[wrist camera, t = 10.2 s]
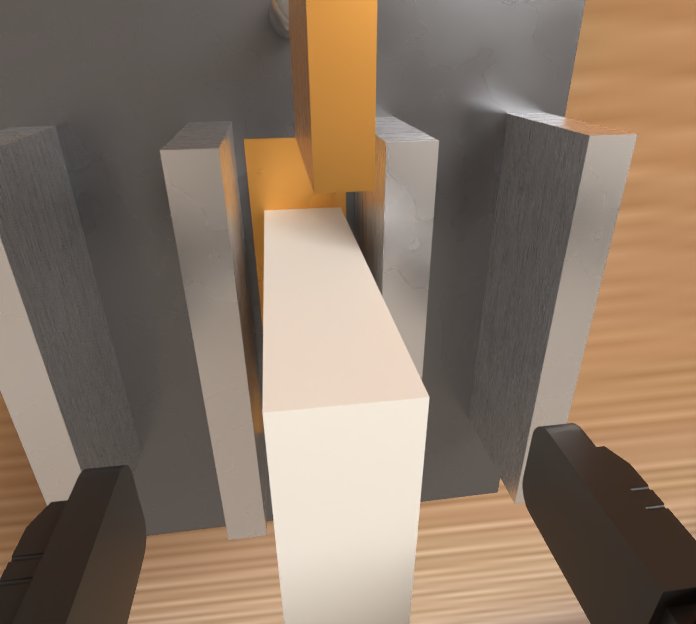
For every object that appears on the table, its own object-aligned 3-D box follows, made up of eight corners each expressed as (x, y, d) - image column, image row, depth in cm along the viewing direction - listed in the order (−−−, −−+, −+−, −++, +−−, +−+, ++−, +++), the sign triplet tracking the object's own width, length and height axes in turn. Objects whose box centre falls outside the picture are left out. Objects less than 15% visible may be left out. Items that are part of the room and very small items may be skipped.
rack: (568, -59, 15) (1365, -341, 4) (485, 468, 25) (655, 795, 14) (-52, -70, 13) (-1740, -692, 2) (125, 511, 23) (-4, 933, 12)
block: (340, 207, 16) (429, 397, 7) (342, 386, 19) (405, 666, 11) (264, 210, 16) (262, 412, 7) (279, 391, 19) (290, 685, 10)
